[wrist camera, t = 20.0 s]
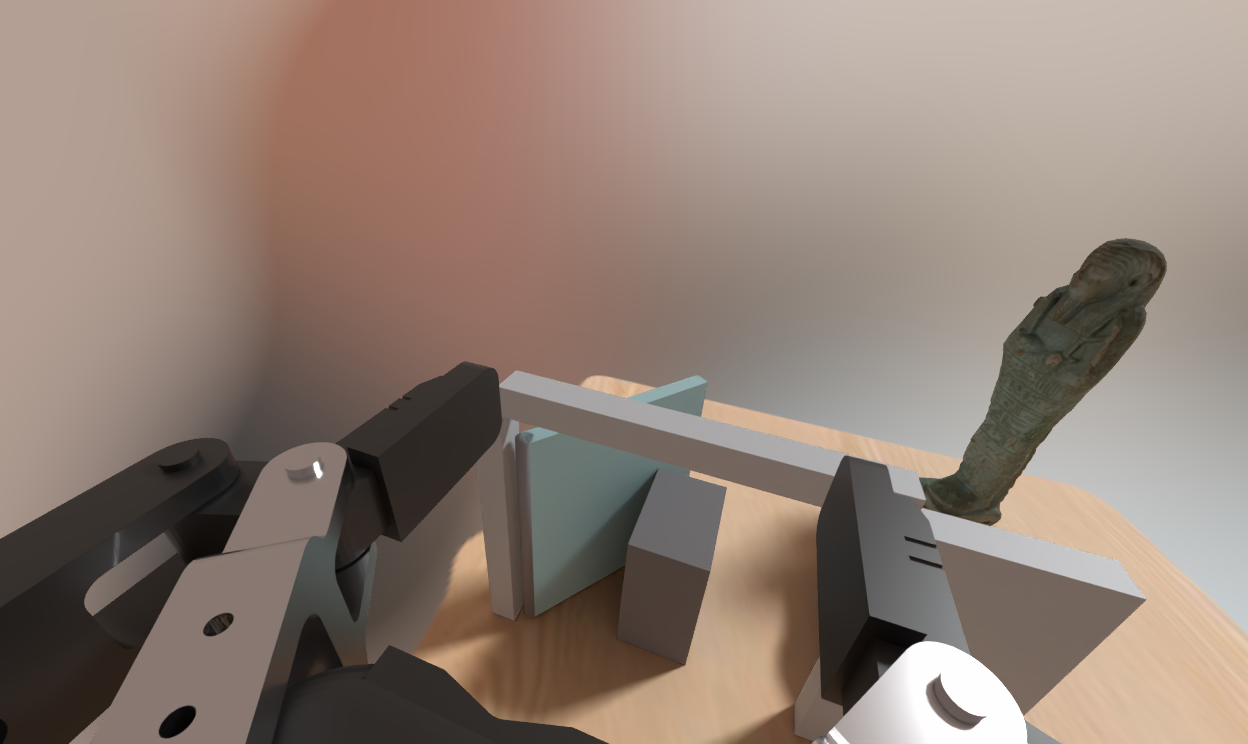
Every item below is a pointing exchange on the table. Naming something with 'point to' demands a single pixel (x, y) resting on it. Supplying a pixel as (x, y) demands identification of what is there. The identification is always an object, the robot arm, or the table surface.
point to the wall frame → (970, 552)
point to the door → (584, 502)
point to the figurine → (1051, 372)
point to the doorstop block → (669, 564)
